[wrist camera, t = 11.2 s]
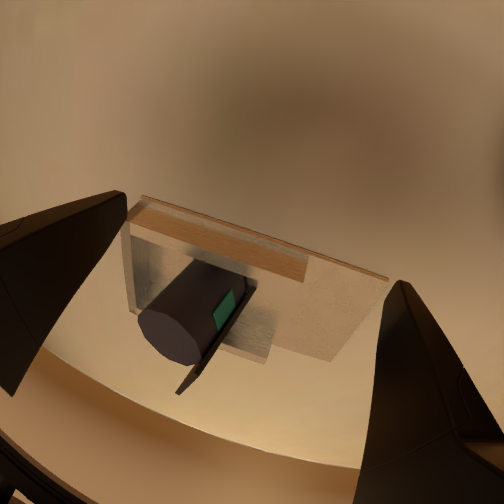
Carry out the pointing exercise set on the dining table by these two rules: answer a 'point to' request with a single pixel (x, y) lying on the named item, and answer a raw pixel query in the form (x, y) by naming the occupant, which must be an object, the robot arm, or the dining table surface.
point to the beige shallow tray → (250, 280)
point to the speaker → (194, 315)
